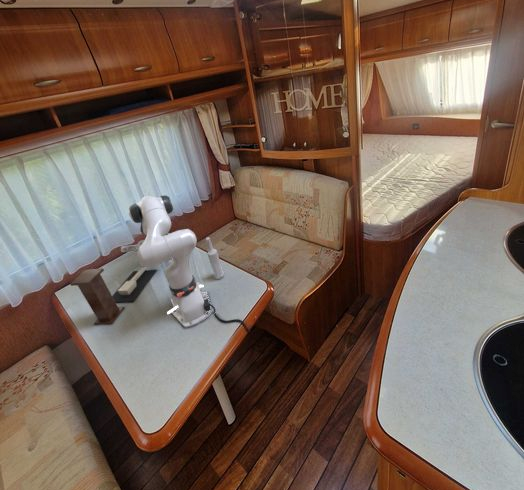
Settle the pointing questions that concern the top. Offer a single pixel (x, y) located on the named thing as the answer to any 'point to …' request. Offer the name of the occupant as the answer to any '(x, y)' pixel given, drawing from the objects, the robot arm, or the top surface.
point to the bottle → (214, 260)
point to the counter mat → (140, 285)
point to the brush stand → (98, 296)
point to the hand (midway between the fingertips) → (129, 248)
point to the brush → (131, 283)
